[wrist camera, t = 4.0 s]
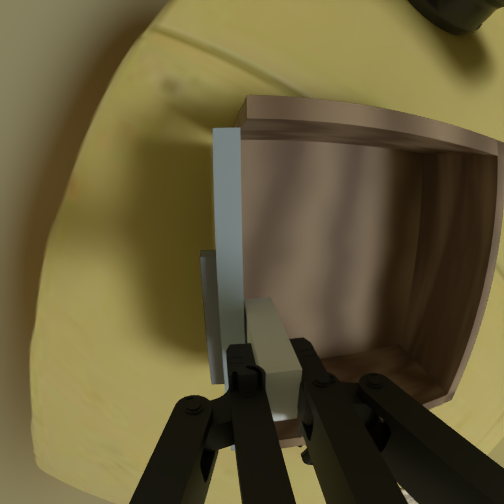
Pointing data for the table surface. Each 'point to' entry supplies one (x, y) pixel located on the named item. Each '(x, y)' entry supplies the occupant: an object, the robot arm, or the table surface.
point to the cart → (370, 237)
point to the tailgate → (224, 257)
